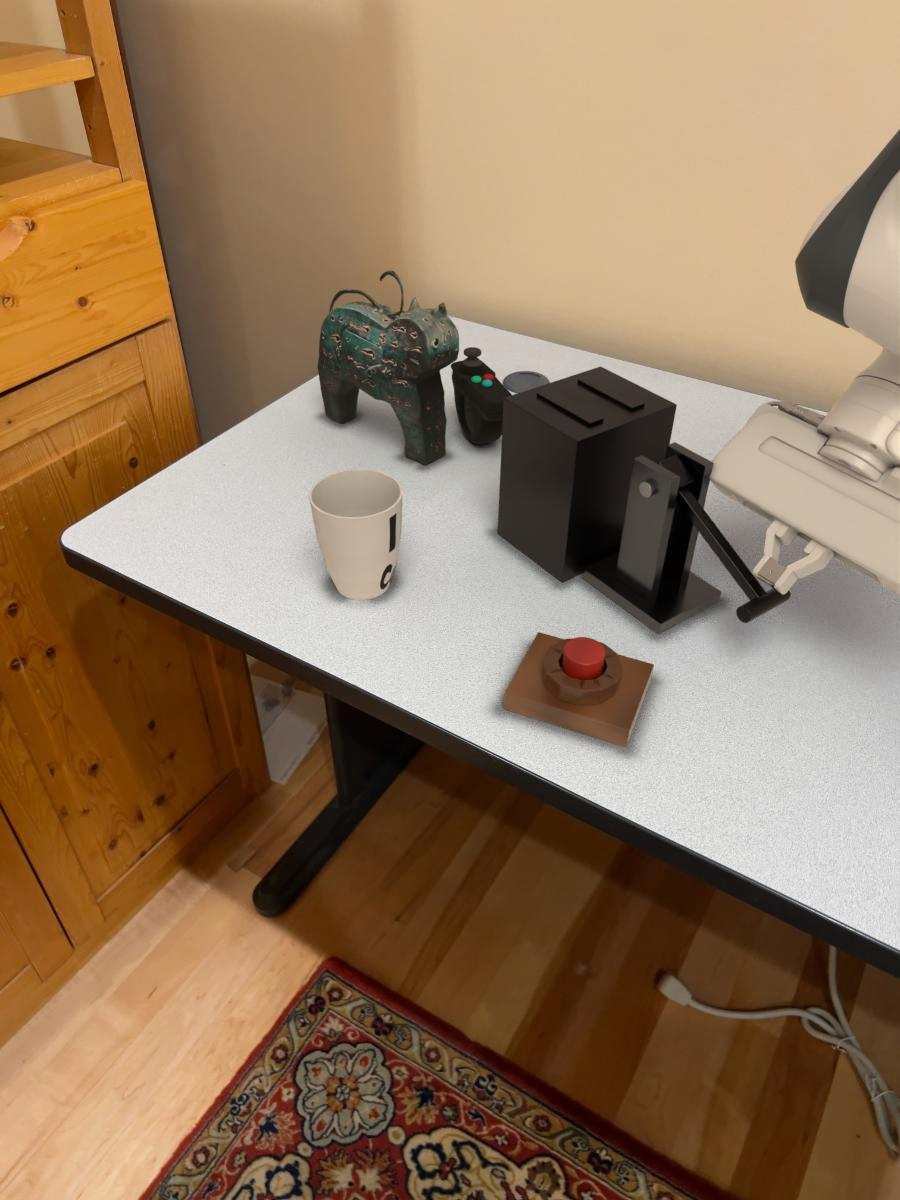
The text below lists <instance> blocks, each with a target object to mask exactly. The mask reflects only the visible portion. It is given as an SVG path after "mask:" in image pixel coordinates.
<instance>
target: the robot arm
mask: <svg viewBox="0 0 900 1200" xmlns="http://www.w3.org/2000/svg"><path fill="white" fill-rule="evenodd" d="M794 266H795V275H796V278H797V283H798V287H799V291H800V294H801V298H802V300H803V303H804V305H805V308H806V310H809V311H810V312H812V313H814V314H817V315H819V316H821V317H823V318H825V319H827V320H829V321H830V322H833V323H835V324H838V325H840V326H841V327H843V328H846V329H851V330H854V331H855V332H857V333H858V334H860V335H862V336H863V337H865V338H866V339H868V340H870V341H872V342H873V343H875V344H877V345H878V346H879V347H882V350H881V351H880V353H879V354H878V356H877V357H876V359H875V360H874V361H873V362H872V363H871V364H869V365H868V366H867V367H865V368H864V369H863V370H861V371H860V372H859V373H858V374H857V375H856V376H855V377H854V379H852V381H851V382H850V384H849V385H848V387H846V389H845V390H844V392H843V393H842V394H841V395H840V397H839V398H838V399H837V400H836V402H835V403H834V404H833V406H832V407H831V409H830V410H829V411H828V413H827V414H826V415H824V414H821V413H818V412H817V411H814V410H812V409H809V408H806V407H803V406H801V405H799V404H798V403H796V402H795V401H793V400H789V399H785V398H783V399H781V400H780V401H779V400H778V401H777V400H772V401H768V402H766V403H762V404H760V405H759V406H757V408H756V409H755V410H754V411H753V413H752V414H751V416H750V417H749V418H748V420H747V421H746V423H745V425H743V427H742V428H741V429H739V430H738V432H736V433H735V434H734V436H732V438H731V439H729V440H728V442H726V444H724V446H723V447H722V448H721V449H720V450H719V452H718V453H716V455H715V456H714V457H713V459H711V462H713V463H714V464H713V469H712V473H711V475H710V477H709V479H710V482H711V484H712V485H713V486H714V487H715V489H716V490H717V491H718V492H720V493H721V494H722V495H724V496H726V497H728V498H729V499H730V500H733V501H735V502H736V503H738V504H740V505H742V506H743V507H745V508H747V509H749V510H750V511H752V512H753V513H756V514H758V516H760V517H763V518H764V519H766V520H768V521H769V522H771V523H770V525H769V526H768V527H767V529H766V532H765V538H764V539H765V540H764V545H763V546H764V547H763V554H764V555H763V556H762V557H761V558H760V560H759V561H758V562H757V564H755V567H754V568H753V569H752V571H751V573H752V574H753V575H754V577H755V578H756V579H757V580H758V581H759V582H762V583H764V584H765V585H767V586H768V587H770V588H771V589H772V588H773V589H775V590H776V591H778V592H779V593H781V594H783V595H784V594H786V593H787V592H788V590H789V591H790V589H791V588H792V587H793V585H794V584H795V583H797V581H798V579H800V580H801V579H802V578H805V577H808V576H810V575H812V574H814V573H817V572H819V571H821V570H823V569H825V568H826V567H827V565H828V564H829V563H830V562H831V560H833V558H834V559H835V560H838V561H839V562H841V563H843V564H844V565H846V566H848V567H850V568H851V569H853V570H855V571H856V572H859V573H860V574H862V575H863V576H865V577H867V578H869V579H871V580H872V581H874V582H875V583H878V584H880V585H881V586H883V587H884V588H886V589H888V590H890V591H891V592H893V593H894V594H896V595H899V596H900V128H899V129H898V130H897V131H896V133H895V134H894V135H893V136H892V138H891V139H890V140H889V141H888V143H887V144H885V146H884V147H883V148H882V149H881V151H880V152H879V153H878V154H877V156H876V157H875V158H874V159H873V161H872V162H871V163H870V164H869V165H868V167H867V168H866V169H864V170H863V171H862V172H861V173H860V174H859V175H858V176H857V177H855V178H854V179H853V180H852V181H850V182H849V184H847V185H846V186H845V187H844V188H842V190H841V191H839V193H837V195H836V196H834V197H833V199H832V200H831V201H829V203H828V204H827V205H826V206H825V207H824V208H823V209H822V210H821V212H820V213H819V215H818V216H817V217H816V219H815V220H814V222H813V223H812V224H811V226H810V227H809V229H808V230H807V232H806V234H805V235H804V238H803V240H802V242H801V245H800V247H799V250H798V254H797V255H796V258H795V260H794ZM795 538H799V539H801V540H802V541H804V542H806V543H807V545H806V546H805V547H804V549H803V553H804V554H805V555H806V556H804V557H801V558H800V559H798V560H796V561H794V562H792V563H789V564H788V565H786V566H784V565H783V564H781V563H780V562H779V559H780V555H781V548H782V544H783V545H784V546H786V547H789V546H790V545H791V543H792V542H793V541H794V540H795Z"/></svg>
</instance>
